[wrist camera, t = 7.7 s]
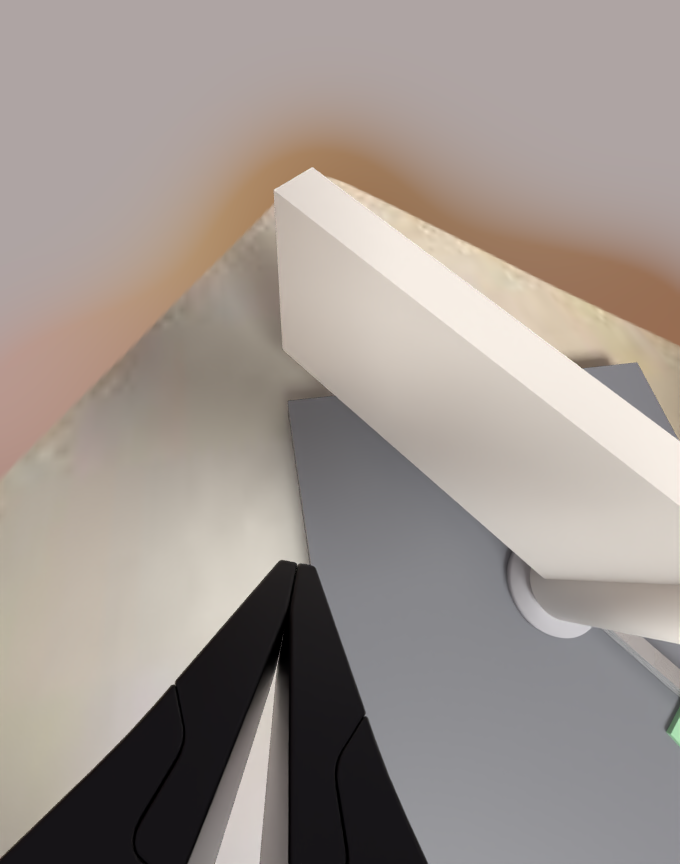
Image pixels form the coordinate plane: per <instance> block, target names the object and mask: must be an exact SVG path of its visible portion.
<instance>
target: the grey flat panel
mask: <svg viewBox="0 0 680 864" xmlns="http://www.w3.org/2000/svg"><path fill="white" fill-rule="evenodd" d="M582 369H584V370H585V371H586V372H588V373H589V374H590V375H592V376H593V377H594V378H596V379H597V380H598V381H600V382H601V383H602V384H604V385H605V386H606V387H608V388H609V389H610V390H612V391H613V392H614V393H616V394H617V395H618V396H620V397H621V398H622V399H624V400H625V401H627V402H628V403H629V404H631V405H632V406H633V407H635V408H636V409H637V410H639V411H640V412H641V413H643V414H644V415H645V416H647V417H648V418H649V419H651V420H652V421H653V422H655V423H656V424H657V425H659V426H660V427H661V428H663V429H664V430H665V431H667V432H668V433H669V434H671V435H672V436H673V437H675V438H676V439H677V440H678V438H677V436H676V434H675V432H674V431H673V429H672V427H671V425H670V423H669V421H668V419H667V417H666V416H665V414H664V412H663V410H662V408H661V406H660V404H659V402H658V401H657V399H656V397H655V395H654V393H653V391H652V389H651V387H650V386H649V384H648V382H647V380H646V378H645V376H644V374H643V372H642V371H641V369H640V367H639V365H638V363H628V364H619V365H610V366H600V367H591V368H582ZM288 413H289V420H290V427H291V434H292V441H293V448H294V455H295V462H296V469H297V476H298V483H299V490H300V497H301V504H302V511H303V518H304V525H305V532H306V539H307V546H308V553H309V560H310V565H312V566H314V567H315V568H316V570H317V572H318V575H319V578H320V581H321V584H322V587H323V590H324V593H325V596H326V598H327V601H328V604H329V607H330V610H331V613H332V616H333V619H334V622H335V624H336V627H337V630H338V633H339V636H340V639H341V642H342V645H343V647H344V650H345V653H346V656H347V659H348V662H349V665H350V668H351V671H352V673H353V676H354V679H355V682H356V685H357V688H358V691H359V694H360V697H361V699H362V702H363V705H364V708H365V711H366V715H365V716H367V717H368V719H369V722H370V725H371V728H372V731H373V733H374V736H375V739H376V742H377V745H378V747H379V750H380V753H381V755H382V758H383V760H384V763H385V766H386V768H387V771H388V774H389V776H390V779H391V781H392V783H393V786H394V788H395V790H396V793H397V795H398V797H399V799H400V802H401V804H402V806H403V809H404V811H405V813H406V816H407V818H408V820H409V822H410V825H411V827H412V829H413V831H414V833H415V836H416V838H417V840H418V842H419V844H420V846H421V849H422V851H423V853H424V855H425V857H426V860H427V862H428V864H680V697H679V696H678V695H677V694H675V693H674V692H673V691H672V690H671V689H670V688H669V687H667V686H666V685H665V684H664V683H663V682H662V681H661V680H659V679H658V678H657V677H656V676H655V675H654V674H653V673H651V672H650V671H649V670H648V669H647V668H646V667H645V666H643V665H642V664H641V663H640V662H639V661H638V660H637V659H635V658H634V657H633V656H632V655H631V654H630V653H629V652H627V651H626V650H625V649H624V648H623V647H622V646H621V645H619V644H618V643H617V642H616V641H615V640H614V639H613V638H611V637H610V636H609V635H608V634H607V633H606V632H605V631H603V630H602V629H601V628H596V627H591V626H586V625H581V624H576V623H571V622H566V621H562V620H558V619H556V618H554V617H552V616H551V615H549V614H548V613H547V612H546V611H545V610H544V609H543V608H542V607H541V606H540V605H539V603H538V602H537V600H536V598H535V597H534V594H533V592H532V588H531V584H530V571H531V567H530V566H529V565H528V564H527V563H526V562H525V561H523V560H522V559H521V558H520V557H519V556H518V555H517V554H515V553H514V552H513V551H512V550H511V549H510V548H509V547H507V546H506V545H505V544H504V543H503V542H502V541H501V540H499V539H498V538H497V537H496V536H495V535H494V534H493V533H491V532H490V531H489V530H488V529H487V528H486V527H485V526H483V525H482V524H481V523H480V522H479V521H478V520H477V519H475V518H474V517H473V516H472V515H471V514H470V513H469V512H467V511H466V510H465V509H464V508H463V507H462V506H461V505H459V504H458V503H457V502H456V501H455V500H454V499H453V498H451V497H450V496H449V495H448V494H447V493H446V492H445V491H443V490H442V489H441V488H440V487H439V486H438V485H437V484H435V483H434V482H433V481H432V480H431V479H430V478H429V477H427V476H426V475H425V474H424V473H423V472H422V471H421V470H419V469H418V468H417V467H416V466H415V465H414V464H413V463H411V462H410V461H409V460H408V459H407V458H406V457H405V456H403V455H402V454H401V453H400V452H399V451H398V450H397V449H395V448H394V447H393V446H392V445H391V444H390V443H389V442H387V441H386V440H385V439H384V438H383V437H382V436H381V435H379V434H378V433H377V432H376V431H375V430H374V429H373V428H371V427H370V426H369V425H368V424H367V423H366V422H365V421H363V420H362V419H361V418H360V417H359V416H358V415H357V414H355V413H354V412H353V411H352V410H351V409H350V408H349V407H347V406H346V405H345V404H344V403H343V402H342V401H341V400H339V399H338V398H337V397H336V396H327V397H318V398H309V399H300V400H291V401H288ZM643 638H644V639H645V640H646V641H648V642H649V643H650V644H651V645H652V646H653V647H655V648H656V649H657V650H658V651H659V652H660V653H662V654H663V655H664V656H665V657H666V658H667V659H669V660H670V661H671V662H672V663H673V664H674V665H675V666H677V667H678V668H679V669H680V644H676V643H671V642H666V641H661V640H656V639H651V638H646V637H643Z"/></svg>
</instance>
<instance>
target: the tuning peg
mask: <svg viewBox="0 0 680 864" xmlns="http://www.w3.org/2000/svg"><path fill="white" fill-rule="evenodd" d="M274 205H275V223H276V241H277V259H278V277H279V295H280V313H281V331H282V349H283V351H285V352H286V353H287V354H288V355H289V356H290V357H291V358H293V359H294V360H295V361H296V362H297V363H298V364H299V365H301V366H302V367H303V368H304V369H305V370H306V371H307V372H309V373H310V374H311V375H312V376H313V377H314V378H315V379H317V380H318V381H319V382H320V383H321V384H322V385H323V386H325V387H326V388H327V389H328V390H329V391H330V392H331V393H333V394H334V395H335V396H336V397H337V398H338V399H339V400H341V401H342V402H343V403H344V404H345V405H346V406H347V407H349V408H350V409H351V410H352V411H353V412H354V413H355V414H357V415H358V416H359V417H360V418H361V419H362V420H363V421H365V422H366V423H367V424H368V425H369V426H370V427H371V428H373V429H374V430H375V431H376V432H377V433H378V434H379V435H381V436H382V437H383V438H384V439H385V440H386V441H387V442H389V443H390V444H391V445H392V446H393V447H394V448H395V449H397V450H398V451H399V452H400V453H401V454H402V455H403V456H405V457H406V458H407V459H408V460H409V461H410V462H411V463H413V464H414V465H415V466H416V467H417V468H418V469H419V470H421V471H422V472H423V473H424V474H425V475H426V476H427V477H429V478H430V479H431V480H432V481H433V482H434V483H435V484H437V485H438V486H439V487H440V488H441V489H442V490H443V491H445V492H446V493H447V494H448V495H449V496H450V497H451V498H453V499H454V500H455V501H456V502H457V503H458V504H459V505H461V506H462V507H463V508H464V509H465V510H466V511H467V512H469V513H470V514H471V515H472V516H473V517H474V518H475V519H477V520H478V521H479V522H480V523H481V524H482V525H483V526H485V527H486V528H487V529H488V530H489V531H490V532H491V533H493V534H494V535H495V536H496V537H497V538H498V539H499V540H501V541H502V542H503V543H504V544H505V545H506V546H507V547H509V548H510V549H511V550H512V551H513V552H514V553H515V554H517V555H518V556H519V557H520V558H521V559H522V560H523V561H525V562H526V563H527V564H528V565H529V566H530V567H531V571H530V584H531V588H532V592H533V594H534V597H535V598H536V600H537V602H538V603H539V605H540V606H541V607H542V608H543V609H544V610H545V611H546V612H547V613H548V614H549V615H551V616H552V617H554V618H556V619H558V620H562V621H566V622H571V623H576V624H581V625H586V626H591V627H596V628H601V629H602V630H603V631H605V632H606V633H607V634H608V635H609V636H610V637H611V638H613V639H614V640H615V641H616V642H617V643H618V644H619V645H621V646H622V647H623V648H624V649H625V650H626V651H627V652H629V653H630V654H631V655H632V656H633V657H634V658H635V659H637V660H638V661H639V662H640V663H641V664H642V665H643V666H645V667H646V668H647V669H648V670H649V671H650V672H651V673H653V674H654V675H655V676H656V677H657V678H658V679H659V680H661V681H662V682H663V683H664V684H665V685H666V686H667V687H669V688H670V689H671V690H672V691H673V692H674V693H675V694H677V695H678V696H679V697H680V669H679V668H678V667H677V666H675V665H674V664H673V663H672V662H671V661H670V660H669V659H667V658H666V657H665V656H664V655H663V654H662V653H660V652H659V651H658V650H657V649H656V648H655V647H653V646H652V645H651V644H650V643H649V642H648V641H646V640H645V639H644V638H643V637H646V638H651V639H656V640H661V641H666V642H671V643H676V644H680V441H679V440H677V439H676V438H675V437H673V436H672V435H671V434H669V433H668V432H667V431H665V430H664V429H663V428H661V427H660V426H659V425H657V424H656V423H655V422H653V421H652V420H651V419H649V418H648V417H647V416H645V415H644V414H643V413H641V412H640V411H639V410H637V409H636V408H635V407H633V406H632V405H631V404H629V403H628V402H627V401H625V400H624V399H622V398H621V397H620V396H618V395H617V394H616V393H614V392H613V391H612V390H610V389H609V388H608V387H606V386H605V385H604V384H602V383H601V382H600V381H598V380H597V379H596V378H594V377H593V376H592V375H590V374H589V373H588V372H586V371H585V370H584V369H582V368H581V367H580V366H578V365H577V364H576V363H574V362H573V361H572V360H570V359H569V358H568V357H566V356H565V355H563V354H562V353H561V352H559V351H558V350H557V349H555V348H554V347H553V346H551V345H550V344H549V343H547V342H546V341H545V340H543V339H542V338H541V337H539V336H538V335H537V334H535V333H534V332H533V331H531V330H530V329H529V328H527V327H526V326H525V325H523V324H522V323H521V322H519V321H518V320H517V319H515V318H514V317H513V316H511V315H510V314H509V313H507V312H506V311H505V310H503V309H502V308H500V307H499V306H498V305H496V304H495V303H494V302H492V301H491V300H490V299H488V298H487V297H486V296H484V295H483V294H482V293H480V292H479V291H478V290H476V289H475V288H474V287H472V286H471V285H470V284H468V283H467V282H466V281H464V280H463V279H462V278H460V277H459V276H458V275H456V274H455V273H454V272H452V271H451V270H450V269H448V268H447V267H446V266H444V265H443V264H442V263H440V262H439V261H437V260H436V259H435V258H433V257H432V256H431V255H429V254H428V253H427V252H425V251H424V250H423V249H421V248H420V247H419V246H417V245H416V244H415V243H413V242H412V241H411V240H409V239H408V238H407V237H405V236H404V235H403V234H401V233H400V232H399V231H397V230H396V229H395V228H393V227H392V226H391V225H389V224H388V223H387V222H385V221H384V220H383V219H381V218H380V217H378V216H377V215H376V214H374V213H373V212H372V211H370V210H369V209H368V208H366V207H365V206H364V205H362V204H361V203H360V202H358V201H357V200H356V199H354V198H353V197H352V196H350V195H349V194H348V193H346V192H345V191H344V190H342V189H341V188H340V187H338V186H337V185H336V184H334V183H333V182H332V181H330V180H329V179H328V178H326V177H325V176H323V175H322V174H321V173H320V172H318V171H317V170H315V169H314V168H313V167H312V168H310V169H308V170H307V171H305V172H303V173H302V174H300V175H298V176H297V177H295V178H293V179H291V180H290V181H288V182H286V183H285V184H283V185H281V186H280V187H278V188H276V189H274Z"/></svg>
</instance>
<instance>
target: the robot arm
mask: <svg viewBox="0 0 680 864" xmlns="http://www.w3.org/2000/svg"><path fill="white" fill-rule="evenodd" d="M296 569H297V570H296ZM295 574H296V575H295ZM282 638H283V639H282ZM281 643H282V644H281ZM280 648H281V649H280ZM279 653H280V654H279ZM278 657H279V660H278ZM277 662H278V665H277ZM276 666H277V673H276V682H275V694H274V705H273V716H272V728H271V739H270V750H269V762H268V773H267V784H266V796H265V807H264V818H263V830H262V841H261V852H260V863H259V864H428V862H427V860H426V857H425V855H424V853H423V851H422V849H421V846H420V844H419V842H418V840H417V838H416V836H415V833H414V831H413V829H412V827H411V825H410V822H409V820H408V818H407V816H406V813H405V811H404V809H403V806H402V804H401V802H400V799H399V797H398V795H397V793H396V790H395V788H394V786H393V783H392V781H391V779H390V776H389V774H388V771H387V768H386V766H385V763H384V760H383V758H382V755H381V753H380V750H379V747H378V745H377V742H376V739H375V736H374V733H373V731H372V728H371V725H370V722H369V719H368V717H367V716H365V715H366V711H365V708H364V705H363V702H362V699H361V697H360V694H359V691H358V688H357V685H356V682H355V679H354V676H353V673H352V671H351V668H350V665H349V662H348V659H347V656H346V653H345V650H344V647H343V645H342V642H341V639H340V636H339V633H338V630H337V627H336V624H335V622H334V619H333V616H332V613H331V610H330V607H329V604H328V601H327V598H326V596H325V593H324V590H323V587H322V584H321V581H320V578H319V575H318V572H317V570H316V568H315V567H314V566H312V565H307V564H298V566H297V564H296V563H295V562H290V561H285V560H280V561H279V562H278V563H277V564H276V565H275V566H274V567H273V569H272V570H271V571H270V572H269V573H268V574H267V576H266V577H265V578H264V579H263V580H262V581H261V582H260V584H259V585H258V586H257V587H256V588H255V589H254V591H253V592H252V593H251V594H250V595H249V596H248V597H247V599H246V600H245V601H244V602H243V603H242V604H241V606H240V607H239V608H238V609H237V610H236V611H235V612H234V614H233V615H232V616H231V617H230V618H229V619H228V621H227V622H226V623H225V624H224V625H223V626H222V628H221V629H220V630H219V631H218V632H217V633H216V634H215V636H214V637H213V638H212V639H211V640H210V641H209V643H208V644H207V645H206V646H205V647H204V648H203V649H202V651H201V652H200V653H199V654H198V655H197V656H196V658H195V659H194V660H193V661H192V662H191V663H190V664H189V666H188V667H187V668H186V669H185V670H184V671H183V673H182V674H181V675H180V676H179V677H178V678H177V679H176V681H175V685H171V686H170V687H169V688H168V690H167V691H166V692H165V693H164V694H163V695H162V697H161V698H160V699H159V700H158V701H157V702H156V703H155V705H154V706H153V707H152V708H151V709H150V710H149V711H148V712H147V713H146V714H145V716H144V717H143V718H142V719H141V720H140V721H139V722H138V723H137V724H136V725H135V727H134V728H133V729H132V730H131V731H130V732H129V733H128V734H127V735H126V736H125V737H124V738H123V739H122V740H121V741H120V742H119V743H118V744H117V745H116V746H115V747H114V748H113V749H112V750H111V751H110V752H109V753H108V754H107V755H106V756H105V757H104V758H103V759H102V760H101V761H100V762H99V763H98V764H97V765H96V766H95V767H94V768H93V769H92V770H91V771H90V772H89V773H88V774H87V775H86V776H85V777H84V778H83V779H82V780H81V781H80V782H79V783H78V784H77V785H76V786H75V787H74V788H73V789H72V790H71V791H70V792H69V793H68V794H67V795H65V796H64V797H63V798H62V799H61V800H60V801H59V802H58V803H57V804H56V805H55V806H54V807H53V808H52V809H51V810H50V811H49V812H48V813H47V814H46V815H45V816H44V817H43V818H42V819H41V820H40V821H39V822H38V823H36V824H35V825H34V826H33V827H32V828H31V829H30V830H29V831H28V832H27V833H26V834H25V835H24V836H23V837H22V838H21V839H20V840H19V841H18V842H17V843H16V844H15V845H14V846H13V847H12V848H11V849H10V850H8V851H7V852H6V853H5V854H4V855H3V856H2V857H1V858H0V864H215V861H216V858H217V855H218V852H219V848H220V845H221V842H222V839H223V836H224V833H225V829H226V826H227V823H228V820H229V817H230V814H231V810H232V807H233V804H234V801H235V798H236V795H237V791H238V788H239V785H240V782H241V779H242V775H243V772H244V769H245V766H246V763H247V760H248V756H249V753H250V750H251V747H252V744H253V741H254V737H255V734H256V731H257V728H258V725H259V722H260V718H261V715H262V712H263V709H264V706H265V703H266V699H267V696H268V693H269V690H270V687H271V683H272V680H273V677H274V673H275V670H276Z"/></svg>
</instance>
